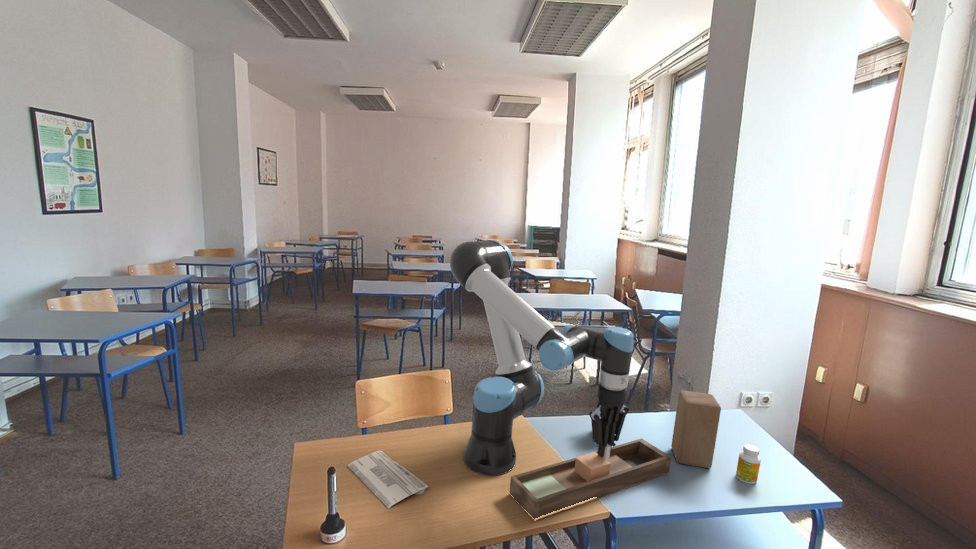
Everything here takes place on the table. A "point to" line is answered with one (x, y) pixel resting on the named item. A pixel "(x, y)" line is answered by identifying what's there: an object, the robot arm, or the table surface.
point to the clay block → (592, 466)
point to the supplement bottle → (748, 464)
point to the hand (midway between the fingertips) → (602, 465)
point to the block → (695, 428)
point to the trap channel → (567, 488)
